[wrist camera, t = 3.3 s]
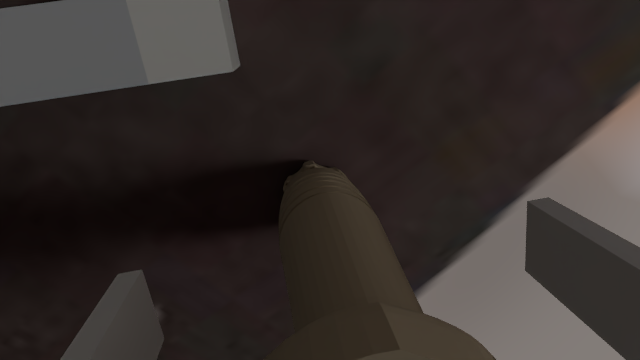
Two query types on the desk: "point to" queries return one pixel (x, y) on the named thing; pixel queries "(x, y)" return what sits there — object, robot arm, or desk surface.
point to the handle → (351, 281)
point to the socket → (110, 45)
